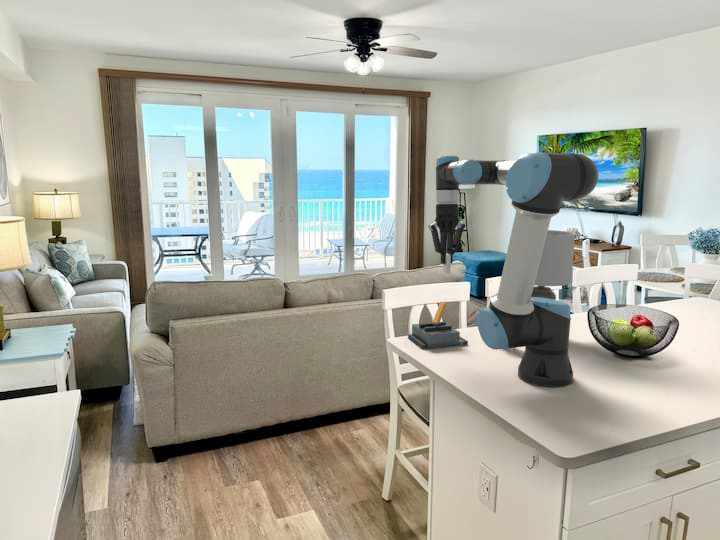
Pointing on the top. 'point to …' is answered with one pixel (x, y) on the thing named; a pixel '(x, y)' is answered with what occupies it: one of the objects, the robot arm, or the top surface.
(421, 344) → the dark gray bar
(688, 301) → the top surface
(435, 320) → the lever
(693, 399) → the top surface
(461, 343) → the gray slab
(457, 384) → the top surface
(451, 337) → the box
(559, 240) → the lamp
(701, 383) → the top surface
